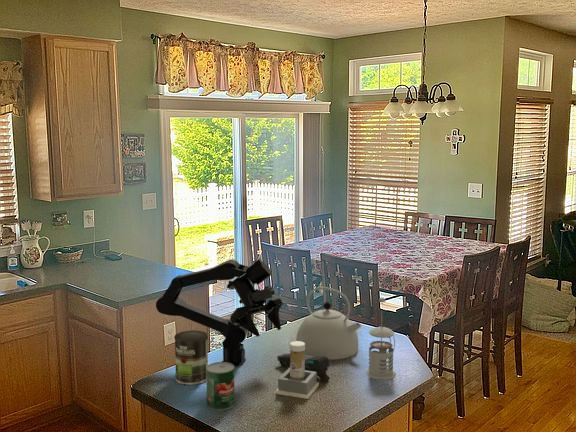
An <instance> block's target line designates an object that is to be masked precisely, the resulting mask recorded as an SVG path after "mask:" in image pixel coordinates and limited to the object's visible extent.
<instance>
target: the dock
mask: <svg viewBox="0 0 576 432" xmlns="http://www.w3.org/2000/svg"><path fill="white" fill-rule="evenodd" d="M317 377H318V376H317V372H314V371H307V370H305V376H304V381H301V380H294V379H290V368H287V370H285V371H284V372H283V373H282V375H280V376H279V377H278V378H277V382H278V383H277V389H276V390H275V394H277V395H281V396H288V397H293V398H294V397H295V398H300V399H307V400H308V399H309V398H310V397H312V394H314V392H315V391H316V390H317V389H318V388H319V384H320V383H319V381H318V380H317Z"/></svg>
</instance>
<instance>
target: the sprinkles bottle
mask: <svg viewBox="0 0 576 432" xmlns="http://www.w3.org/2000/svg"><path fill="white" fill-rule="evenodd" d="M289 351H290V353H289V354H290V379H294V380H301V381H304V376H305V359H304V351H305V343H304V342H301V341H296V340H295V341H291V342H290V343H289Z"/></svg>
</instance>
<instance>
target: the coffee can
mask: <svg viewBox="0 0 576 432" xmlns="http://www.w3.org/2000/svg"><path fill="white" fill-rule="evenodd" d="M208 337H209V334H208V333H207V332H206V331H203V330H194V329H193V330H184V331H181V332H177V333H176V334H175V335H174V355H175V358H174V359H175V381H176V382H177V383H178V384H180V385H184V384H185V385H184V386H194V385H199V384H203V383H205V382H207V380H206V379H207V378H206V376H207V375H206V367H207V366H208V365H209V363H208V362H209V361H208V360H209V353H208V352H209V350H208V346H209V345H208V342H209V341H208V339H209V338H208Z"/></svg>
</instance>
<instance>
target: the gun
mask: <svg viewBox="0 0 576 432" xmlns="http://www.w3.org/2000/svg"><path fill="white" fill-rule="evenodd" d="M276 357H277V362H279V365H280V366H281V367H284V366H285V367H286V368H287V369H288V368H290V353H282V354H280V355H277V356H276ZM304 359H305V370H307V371H314V372H317V377H318V378H319V379H320V381H321V382H322V383H326V382H328V381H329V380H330V379H331V378H330V377H329V375H328V374H327V372H328V370H329V367H330V363H329V361H330V360H329V359H328V358H327V357H325V356H322V357H321V356H306V355H304Z"/></svg>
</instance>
